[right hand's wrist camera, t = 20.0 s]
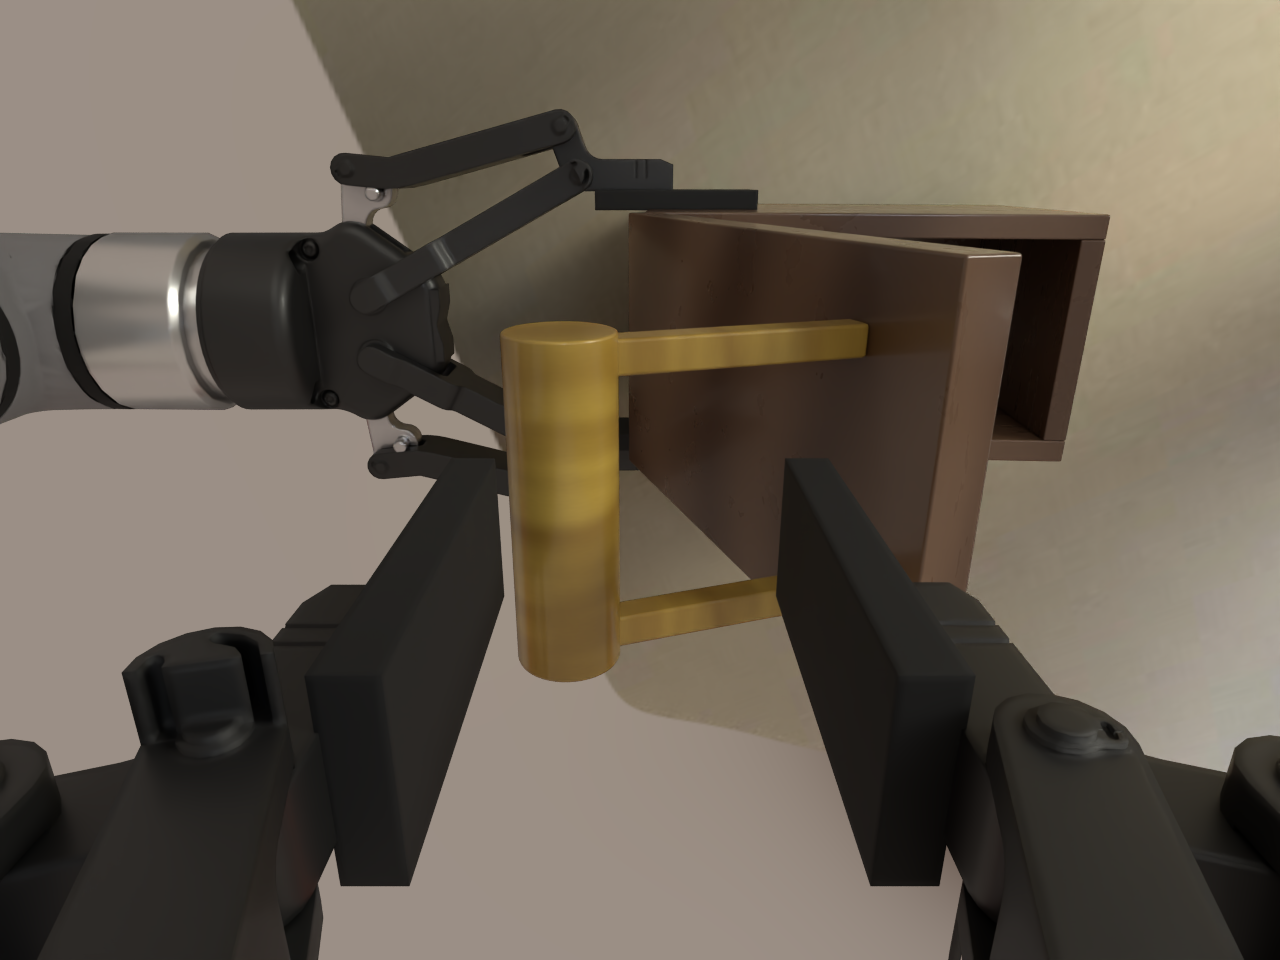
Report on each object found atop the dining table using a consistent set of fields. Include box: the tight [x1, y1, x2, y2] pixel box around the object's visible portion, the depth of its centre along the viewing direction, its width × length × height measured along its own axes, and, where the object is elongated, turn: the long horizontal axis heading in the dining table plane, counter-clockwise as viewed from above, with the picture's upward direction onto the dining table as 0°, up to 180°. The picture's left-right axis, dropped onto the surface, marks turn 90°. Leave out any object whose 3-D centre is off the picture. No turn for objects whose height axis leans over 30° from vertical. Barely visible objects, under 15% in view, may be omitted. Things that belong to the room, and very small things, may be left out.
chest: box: [646, 204, 1110, 461], centre depth 36 cm, size 17×10×11 cm, turn 90°
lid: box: [500, 213, 1022, 682], centre depth 22 cm, size 18×10×8 cm
